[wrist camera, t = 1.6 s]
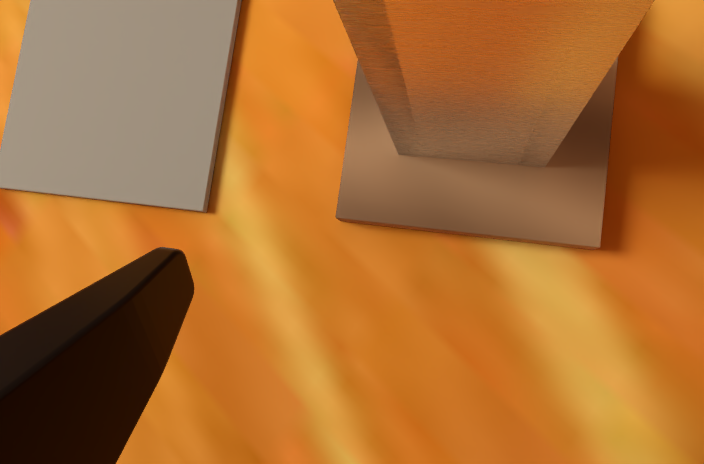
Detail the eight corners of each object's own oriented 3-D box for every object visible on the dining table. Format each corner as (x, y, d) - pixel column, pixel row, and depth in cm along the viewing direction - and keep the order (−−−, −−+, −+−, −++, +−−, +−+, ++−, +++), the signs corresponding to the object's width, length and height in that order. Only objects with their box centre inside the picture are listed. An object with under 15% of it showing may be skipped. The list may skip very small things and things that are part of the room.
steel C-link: (544, 167, 20) (660, -9, 9) (398, 154, 22) (326, -16, 10) (556, 56, 21) (682, -254, 9) (412, 49, 22) (359, -234, 10)
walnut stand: (593, 249, 21) (634, 235, 16) (340, 221, 23) (308, 199, 18) (616, 2, 22) (662, -83, 17) (372, -4, 24) (349, -82, 19)
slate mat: (206, 212, 24) (202, 210, 24) (-1, 188, 26) (-8, 186, 26) (245, -21, 25) (241, -26, 25) (42, -25, 27) (36, -30, 27)
